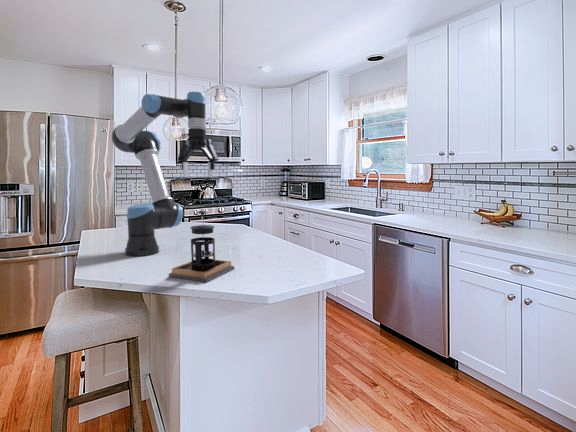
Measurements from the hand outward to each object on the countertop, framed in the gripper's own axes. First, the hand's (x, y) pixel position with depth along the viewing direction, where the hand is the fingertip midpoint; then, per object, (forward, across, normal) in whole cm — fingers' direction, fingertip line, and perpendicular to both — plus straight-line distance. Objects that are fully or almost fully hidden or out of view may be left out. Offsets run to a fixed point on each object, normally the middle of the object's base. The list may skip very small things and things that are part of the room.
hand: (198, 177), depth 160 cm
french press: (+36, +17, -22) cm, 45 cm away
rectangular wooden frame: (+36, +17, -22) cm, 46 cm away
